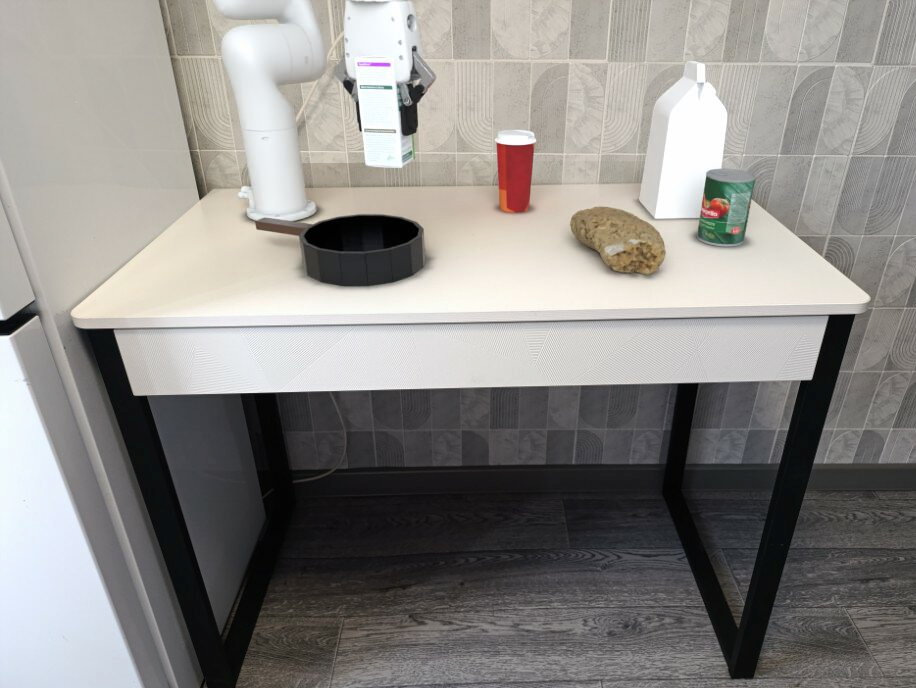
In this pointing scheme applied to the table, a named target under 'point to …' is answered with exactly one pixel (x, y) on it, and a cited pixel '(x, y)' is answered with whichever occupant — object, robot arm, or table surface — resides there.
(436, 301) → the table surface
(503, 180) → the paper cup
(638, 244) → the sponge
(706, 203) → the canned tomato
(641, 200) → the milk
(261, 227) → the pan
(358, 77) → the syrup box
